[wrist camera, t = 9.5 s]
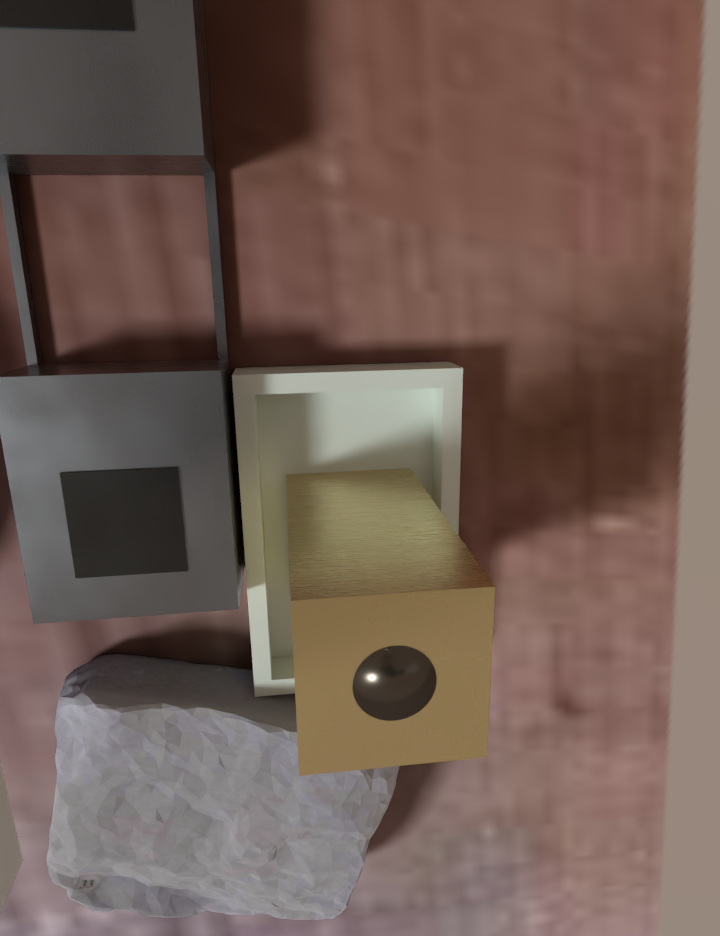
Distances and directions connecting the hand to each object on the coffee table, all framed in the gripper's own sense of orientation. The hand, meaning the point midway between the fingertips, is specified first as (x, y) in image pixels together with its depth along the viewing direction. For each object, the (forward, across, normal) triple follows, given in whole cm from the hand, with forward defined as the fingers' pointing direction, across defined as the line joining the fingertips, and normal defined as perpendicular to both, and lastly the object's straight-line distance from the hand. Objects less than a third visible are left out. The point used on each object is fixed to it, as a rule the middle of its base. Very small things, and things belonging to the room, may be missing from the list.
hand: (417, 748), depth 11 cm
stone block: (+12, -5, -11) cm, 17 cm away
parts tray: (+12, 0, -1) cm, 12 cm away
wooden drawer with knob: (+12, 0, -1) cm, 12 cm away
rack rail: (+12, -7, +8) cm, 16 cm away
